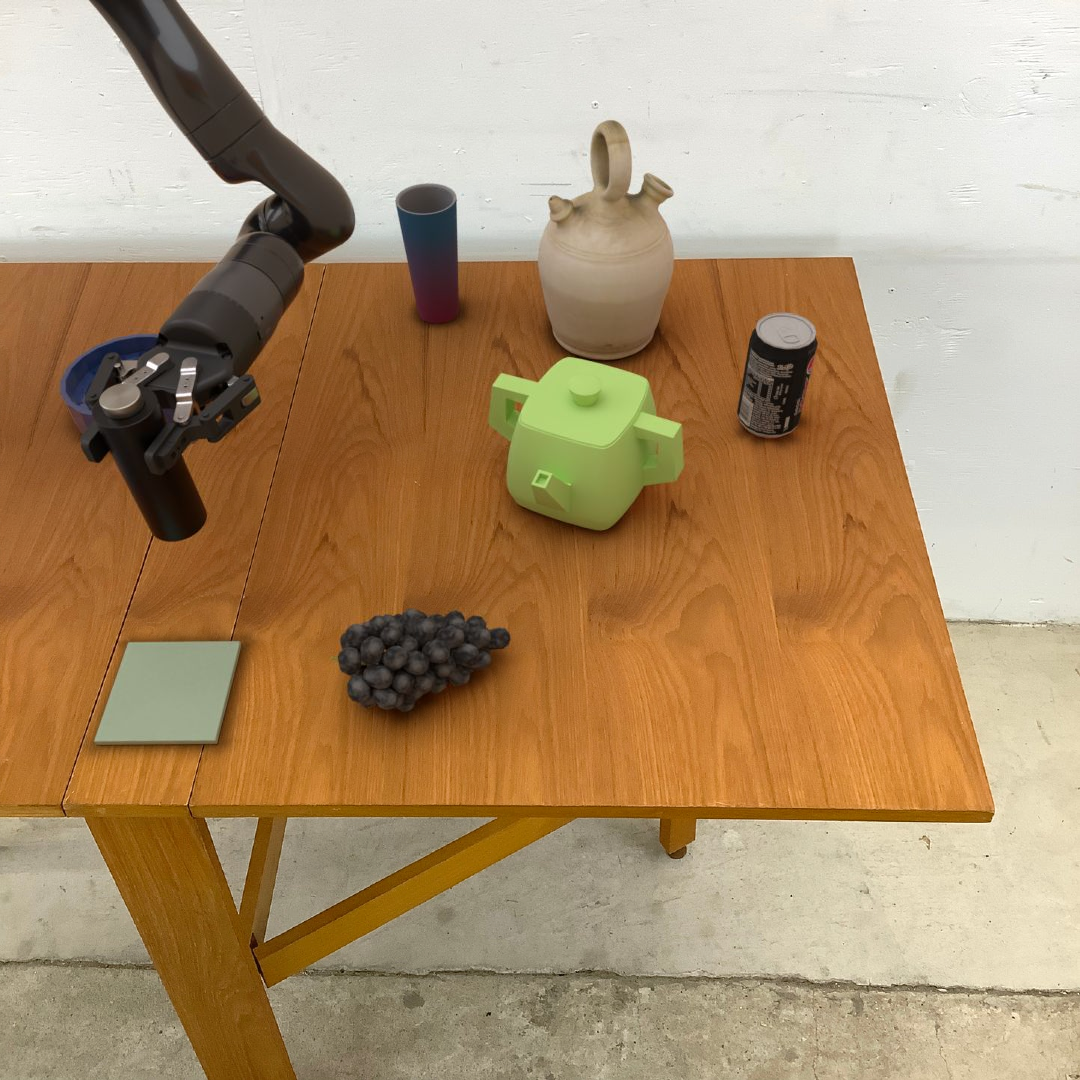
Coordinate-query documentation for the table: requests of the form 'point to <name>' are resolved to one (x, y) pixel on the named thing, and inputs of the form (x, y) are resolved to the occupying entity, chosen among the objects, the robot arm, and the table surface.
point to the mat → (170, 693)
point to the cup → (431, 248)
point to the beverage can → (776, 374)
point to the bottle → (128, 433)
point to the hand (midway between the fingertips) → (120, 459)
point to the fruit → (414, 655)
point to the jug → (607, 256)
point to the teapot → (583, 441)
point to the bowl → (86, 368)
